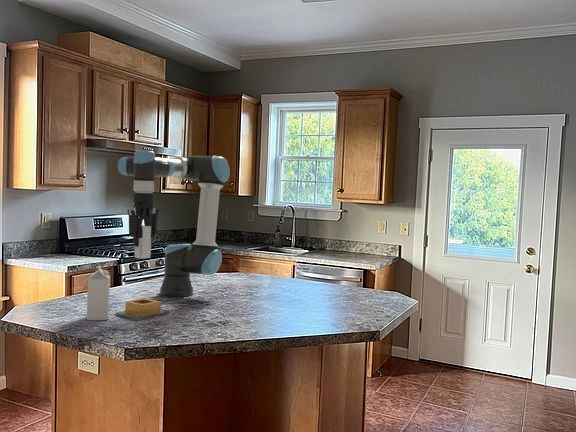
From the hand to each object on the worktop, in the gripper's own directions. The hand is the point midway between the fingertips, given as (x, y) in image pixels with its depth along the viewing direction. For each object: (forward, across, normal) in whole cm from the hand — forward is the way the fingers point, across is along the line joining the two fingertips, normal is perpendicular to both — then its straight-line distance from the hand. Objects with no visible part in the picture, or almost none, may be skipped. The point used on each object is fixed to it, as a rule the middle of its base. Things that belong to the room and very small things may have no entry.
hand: (142, 254), depth 197 cm
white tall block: (+1, 0, 0) cm, 1 cm away
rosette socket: (+24, -2, -1) cm, 24 cm away
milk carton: (+23, +13, -8) cm, 28 cm away
